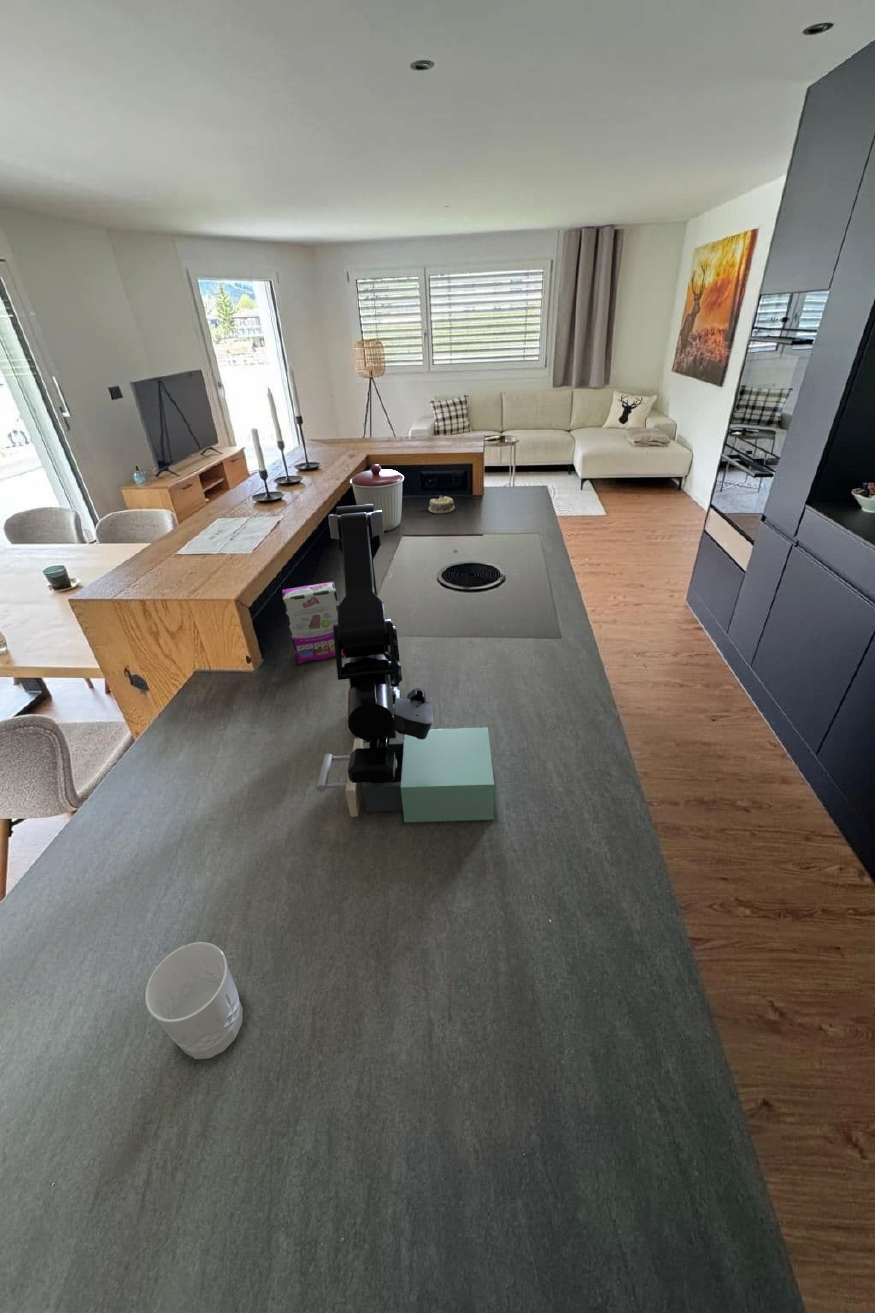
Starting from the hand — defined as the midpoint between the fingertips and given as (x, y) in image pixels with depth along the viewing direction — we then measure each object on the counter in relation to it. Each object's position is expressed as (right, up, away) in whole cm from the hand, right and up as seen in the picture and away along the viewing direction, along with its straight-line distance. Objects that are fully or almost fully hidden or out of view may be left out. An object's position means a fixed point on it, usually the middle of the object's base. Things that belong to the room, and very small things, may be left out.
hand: (382, 771), depth 88 cm
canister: (-11, +63, +106) cm, 124 cm away
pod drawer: (-1, -3, +2) cm, 4 cm away
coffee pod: (0, -2, +1) cm, 3 cm away
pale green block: (+11, -4, +2) cm, 11 cm away
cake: (+10, +73, +118) cm, 139 cm away
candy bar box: (-18, +18, +38) cm, 46 cm away
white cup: (-16, -23, -25) cm, 38 cm away
